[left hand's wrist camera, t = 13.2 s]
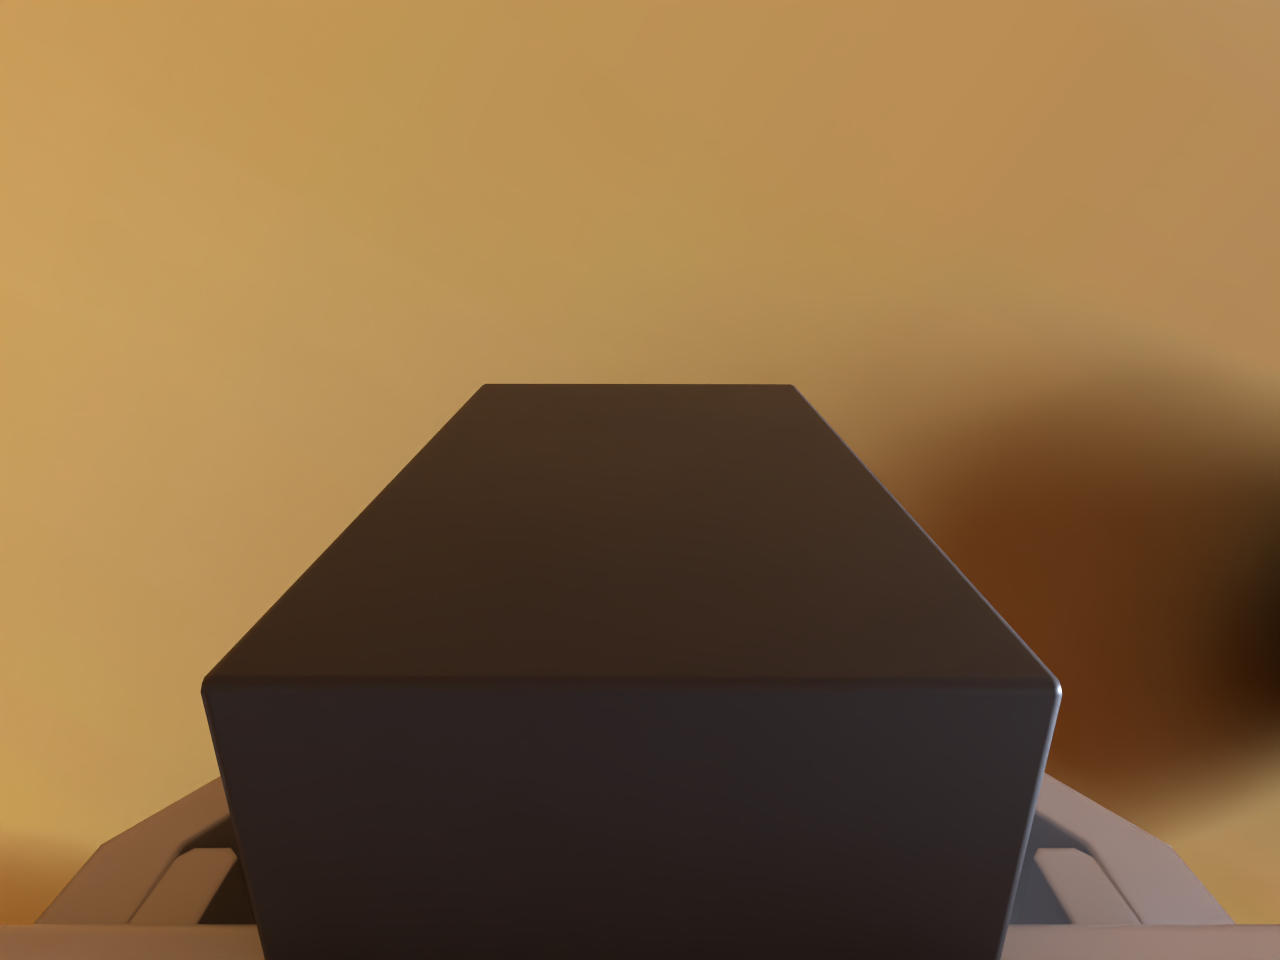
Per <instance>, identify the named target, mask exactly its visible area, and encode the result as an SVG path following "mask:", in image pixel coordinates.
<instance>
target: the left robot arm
mask: <svg viewBox="0 0 1280 960" xmlns="http://www.w3.org/2000/svg"><path fill="white" fill-rule="evenodd" d="M0 960H265V958H264V954H263V950H262V946H261V942H260V938H259V933H258V929H257V925H256V921H255V917H254V913H253V908H252V904H251V900H250V896H249V892H248V887H247V883H246V879H245V875H244V871H243V867H242V862H241V858H240V854H239V850H238V846H237V841H236V837H235V833H234V829H233V825H232V821H231V816H230V812H229V808H228V804H227V800H226V795H225V791H224V787H223V783H222V779H221V776H220V777H218V778H217V779H215V780H213V781H211V782H210V783H208V784H206V785H204V786H203V787H201V788H199V789H197V790H196V791H194V792H192V793H190V794H189V795H187V796H185V797H184V798H182V799H180V800H178V801H177V802H175V803H173V804H171V805H170V806H168V807H166V808H164V809H163V810H161V811H159V812H157V813H156V814H154V815H152V816H150V817H149V818H147V819H145V820H144V821H142V822H140V823H138V824H137V825H135V826H133V827H131V828H130V829H128V830H126V831H124V832H123V833H121V834H119V835H117V836H116V837H114V838H112V839H111V840H109V841H107V842H105V843H104V844H102V845H101V846H100V847H99V848H98V849H97V850H96V851H95V853H94V854H93V855H92V856H91V857H90V858H89V860H88V861H87V862H86V863H85V864H84V865H83V867H82V868H81V869H80V870H79V871H78V872H77V874H76V875H75V876H74V877H73V878H72V879H71V881H70V882H69V883H68V884H67V885H66V886H65V888H64V889H63V890H62V891H61V892H60V893H59V895H58V896H57V897H56V898H55V899H54V900H53V902H52V903H51V904H50V905H49V906H48V907H47V909H46V910H45V911H44V912H43V913H42V914H41V916H40V917H39V918H38V919H37V920H36V921H35V923H34V924H0ZM1000 960H1280V924H1236V923H1235V922H1234V921H1233V920H1232V919H1231V917H1230V916H1229V915H1228V914H1227V913H1226V911H1225V910H1224V909H1223V908H1222V907H1221V905H1220V904H1219V903H1218V902H1217V901H1216V899H1215V898H1214V897H1213V896H1212V895H1211V893H1210V892H1209V891H1208V890H1207V889H1206V888H1205V886H1204V885H1203V884H1202V883H1201V882H1200V880H1199V879H1198V878H1197V877H1196V876H1195V874H1194V873H1193V872H1192V871H1191V870H1190V868H1189V867H1188V866H1187V865H1186V864H1185V862H1184V861H1183V860H1182V859H1181V858H1180V856H1179V855H1178V854H1177V853H1176V852H1175V851H1174V849H1173V848H1172V847H1171V846H1170V845H1168V844H1166V843H1165V842H1163V841H1161V840H1160V839H1158V838H1156V837H1154V836H1153V835H1151V834H1149V833H1147V832H1146V831H1144V830H1142V829H1141V828H1139V827H1137V826H1135V825H1134V824H1132V823H1130V822H1129V821H1127V820H1125V819H1123V818H1122V817H1120V816H1118V815H1117V814H1115V813H1113V812H1111V811H1110V810H1108V809H1106V808H1105V807H1103V806H1101V805H1099V804H1098V803H1096V802H1094V801H1093V800H1091V799H1089V798H1087V797H1086V796H1084V795H1082V794H1081V793H1079V792H1077V791H1075V790H1074V789H1072V788H1070V787H1069V786H1067V785H1065V784H1063V783H1062V782H1060V781H1058V780H1057V779H1055V778H1053V777H1051V776H1050V775H1048V774H1046V773H1045V772H1044V775H1043V779H1042V784H1041V788H1040V792H1039V797H1038V801H1037V805H1036V809H1035V814H1034V818H1033V822H1032V826H1031V831H1030V835H1029V839H1028V844H1027V848H1026V852H1025V856H1024V861H1023V865H1022V869H1021V874H1020V878H1019V882H1018V886H1017V891H1016V895H1015V899H1014V904H1013V908H1012V912H1011V916H1010V921H1009V925H1008V929H1007V934H1006V938H1005V942H1004V946H1003V951H1002V955H1001V959H1000Z"/></svg>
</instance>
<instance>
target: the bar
mask: <svg viewBox="0 0 1280 960" xmlns="http://www.w3.org/2000/svg"><path fill="white" fill-rule="evenodd" d="M201 695H202V699H203V704H204V708H205V712H206V716H207V720H208V724H209V729H210V733H211V737H212V741H213V745H214V750H215V754H216V758H217V762H218V766H219V770H220V775H221V779H222V783H223V787H224V791H225V795H226V800H227V804H228V808H229V812H230V816H231V821H232V825H233V829H234V833H235V837H236V841H237V846H238V850H239V854H240V858H241V862H242V867H243V871H244V875H245V879H246V883H247V887H248V892H249V896H250V900H251V904H252V908H253V913H254V917H255V921H256V925H257V929H258V933H259V938H260V942H261V946H262V950H263V954H264V958H265V960H1000V959H1001V955H1002V951H1003V946H1004V942H1005V938H1006V934H1007V929H1008V925H1009V921H1010V916H1011V912H1012V908H1013V904H1014V899H1015V895H1016V891H1017V886H1018V882H1019V878H1020V874H1021V869H1022V865H1023V861H1024V856H1025V852H1026V848H1027V844H1028V839H1029V835H1030V831H1031V826H1032V822H1033V818H1034V814H1035V809H1036V805H1037V801H1038V797H1039V792H1040V788H1041V784H1042V779H1043V775H1044V771H1045V767H1046V762H1047V758H1048V754H1049V749H1050V745H1051V741H1052V737H1053V732H1054V728H1055V724H1056V719H1057V715H1058V711H1059V707H1060V702H1061V698H1062V690H1061V685H1060V682H1059V680H1058V679H1057V678H1056V677H1055V675H1054V674H1053V673H1052V672H1051V671H1050V670H1049V669H1048V668H1047V667H1046V665H1045V664H1044V663H1043V662H1042V661H1041V660H1040V659H1039V658H1038V656H1037V655H1036V654H1035V653H1034V652H1033V651H1032V650H1031V649H1030V648H1029V646H1028V645H1027V644H1026V643H1025V642H1024V641H1023V640H1022V639H1021V638H1020V636H1019V635H1018V634H1017V633H1016V632H1015V631H1014V630H1013V629H1012V628H1011V626H1010V625H1009V624H1008V623H1007V622H1006V621H1005V620H1004V619H1003V618H1002V616H1001V615H1000V614H999V613H998V612H997V611H996V610H995V609H994V608H993V606H992V605H991V604H990V603H989V602H988V601H987V600H986V599H985V598H984V596H983V595H982V594H981V593H980V592H979V591H978V590H977V589H976V588H975V586H974V585H973V584H972V583H971V582H970V581H969V580H968V579H967V578H966V576H965V575H964V574H963V573H962V572H961V571H960V570H959V569H958V568H957V566H956V565H955V564H954V563H953V562H952V561H951V560H950V559H949V558H948V556H947V555H946V554H945V553H944V552H943V551H942V550H941V549H940V548H939V546H938V545H937V544H936V543H935V542H934V541H933V540H932V539H931V537H930V536H929V535H928V534H927V533H926V532H925V531H924V530H923V529H922V527H921V526H920V525H919V524H918V523H917V522H916V521H915V520H914V519H913V517H912V516H911V515H910V514H909V513H908V512H907V511H906V510H905V509H904V507H903V506H902V505H901V504H900V503H899V502H898V501H897V500H896V499H895V497H894V496H893V495H892V494H891V493H890V492H889V491H888V490H887V489H886V487H885V486H884V485H883V484H882V483H881V482H880V481H879V480H878V479H877V477H876V476H875V475H874V474H873V473H872V472H871V471H870V470H869V469H868V467H867V466H866V465H865V464H864V463H863V462H862V461H861V460H860V459H859V457H858V456H857V455H856V454H855V453H854V452H853V451H852V450H851V449H850V447H849V446H848V445H847V444H846V443H845V442H844V441H843V440H842V439H841V437H840V436H839V435H838V434H837V433H836V432H835V431H834V430H833V428H832V427H831V426H830V425H829V424H828V423H827V422H826V421H825V420H824V418H823V417H822V416H821V415H820V414H819V413H818V412H817V411H816V410H815V408H814V407H813V406H812V405H811V404H810V403H809V402H808V401H807V400H806V398H805V397H804V396H803V395H802V394H801V393H800V392H799V391H798V390H797V388H796V387H795V386H793V385H772V384H485V385H483V386H482V387H481V388H480V389H479V390H478V391H477V392H476V393H475V394H474V395H473V396H472V397H471V398H470V399H469V400H468V401H467V402H466V403H465V404H464V405H463V407H462V408H461V409H460V410H459V411H458V412H457V413H456V414H455V415H454V416H453V417H452V418H451V419H450V420H449V421H448V422H447V423H446V424H445V425H444V426H443V428H442V429H441V430H440V431H439V432H438V433H437V434H436V435H435V436H434V437H433V438H432V439H431V440H430V441H429V442H428V443H427V444H426V445H425V446H424V447H423V449H422V450H421V451H420V452H419V453H418V454H417V455H416V456H415V457H414V458H413V459H412V460H411V461H410V462H409V463H408V464H407V465H406V466H405V467H404V468H403V470H402V471H401V472H400V473H399V474H398V475H397V476H396V477H395V478H394V479H393V480H392V481H391V482H390V483H389V484H388V485H387V486H386V487H385V488H384V489H383V491H382V492H381V493H380V494H379V495H378V496H377V497H376V498H375V499H374V500H373V501H372V502H371V503H370V504H369V505H368V506H367V507H366V508H365V509H364V510H363V511H362V513H361V514H360V515H359V516H358V517H357V518H356V519H355V520H354V521H353V522H352V523H351V524H350V525H349V526H348V527H347V528H346V529H345V530H344V531H343V532H342V534H341V535H340V536H339V537H338V538H337V539H336V540H335V541H334V542H333V543H332V544H331V545H330V546H329V547H328V548H327V549H326V550H325V551H324V552H323V553H322V555H321V556H320V557H319V558H318V559H317V560H316V561H315V562H314V563H313V564H312V565H311V566H310V567H309V568H308V569H307V570H306V571H305V572H304V573H303V574H302V576H301V577H300V578H299V579H298V580H297V581H296V582H295V583H294V584H293V585H292V586H291V587H290V588H289V589H288V590H287V591H286V592H285V593H284V594H283V595H282V597H281V598H280V599H279V600H278V601H277V602H276V603H275V604H274V605H273V606H272V607H271V608H270V609H269V610H268V611H267V612H266V613H265V614H264V615H263V616H262V618H261V619H260V620H259V621H258V622H257V623H256V624H255V625H254V626H253V627H252V628H251V629H250V630H249V631H248V632H247V633H246V634H245V635H244V636H243V637H242V638H241V640H240V641H239V642H238V643H237V644H236V645H235V646H234V647H233V648H232V649H231V650H230V651H229V652H228V653H227V654H226V655H225V656H224V657H223V658H222V659H221V661H220V662H219V663H218V664H217V665H216V666H215V667H214V668H213V669H212V670H211V671H210V672H209V673H208V674H207V675H206V676H205V677H204V680H203V683H202V687H201Z"/></svg>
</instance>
